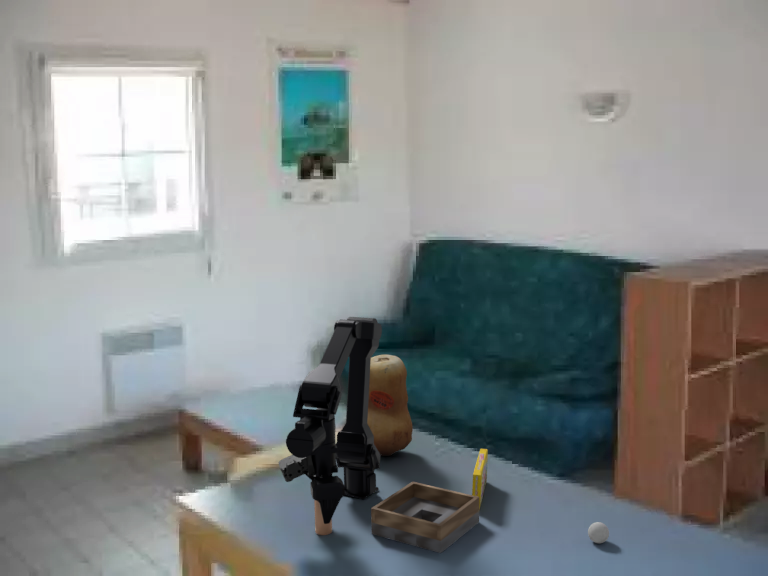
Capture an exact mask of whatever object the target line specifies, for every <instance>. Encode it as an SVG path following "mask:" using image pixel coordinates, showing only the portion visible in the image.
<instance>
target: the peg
mask: <svg viewBox="0 0 768 576" xmlns="http://www.w3.org/2000/svg"><path fill="white" fill-rule="evenodd" d="M313 500H314V499H313ZM313 503H314V505H313V506H314V527H315V529H314V530H315V531H314V532H315V534H316V535H319V536H327V535H330V534H332V533H333V518H332V519H331V521H330V523H329V524H324V521H323V517H322V512H321V508H320V504H319V502H318V501H316V500H314V501H313Z"/></svg>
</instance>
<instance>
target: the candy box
mask: <svg viewBox="0 0 768 576" xmlns="http://www.w3.org/2000/svg"><path fill="white" fill-rule="evenodd" d="M488 452H489V449H487V448H480V449H479V452H478V456H477V458H476V463H475V466H474V470H473V473H472V484H471V485H472V488H471V495H473V496H477V497H479V511H480V509H481V505H482V502H483V496H484V494H485V488H486V484H487V481H488V460H489V458H488V457H489V456H488V455H489V453H488Z"/></svg>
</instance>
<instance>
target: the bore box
mask: <svg viewBox="0 0 768 576" xmlns="http://www.w3.org/2000/svg"><path fill="white" fill-rule="evenodd" d="M370 516H371V517H370V524H371V535H374V536H377V537H381V538H385V539H389V540H392V541H396V542H399V543H402V544H403V543H404V544H407V545H410V546H413V547H418V548H420V549H421V548H422V549H424V550H428V551H432V552H436V553H439V554H442V553H443V552H445V550H447V549H448V548H450V546H452V545H453V544H454V543H455V542H457V541H458V540H459V539H460V538H462V537H463V536H464V535H465V534H466V533H468V532H469V531H471V529H473V528H474V527H475V526H476V525H478V524H479V523H480V510H479V497H477V496H473V495H472V494H468V493H464V492H459V491H455V490H451V489H446V488H442V487H438V486H433V485H428V484H426V483H420V482H416V481H411V482H410V483H408V484H406V485H405V486H404V487H402V488H400V489H399V490H397V491H395V492H394V493H393V494H390V495H389V496H388V497H386V498H385V499H383V500H381V501H380V502H378V503H377V504H376V505H374V506H372V507H370Z"/></svg>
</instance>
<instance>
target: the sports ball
mask: <svg viewBox="0 0 768 576" xmlns="http://www.w3.org/2000/svg"><path fill="white" fill-rule="evenodd" d="M587 535H588V537H589V539H590V540H591V541H592V542H593V543H595V544H603V543H605V542H606V541H607V540H608V538H609V537H610V529H609V527H608V526H607V525H606V524H605V523H603V522H601V521H599V522H598V521H596V522H595V521H594V522H593V523H591V524H590V525H589V527H588V530H587Z"/></svg>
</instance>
